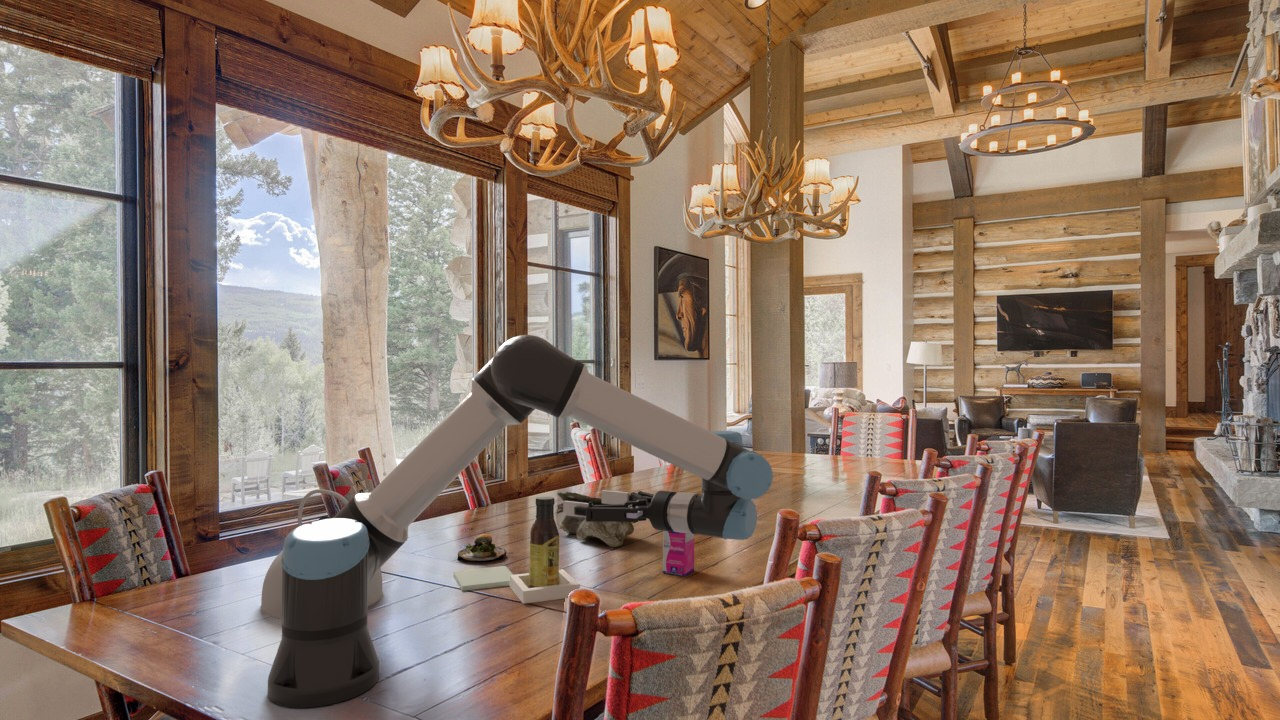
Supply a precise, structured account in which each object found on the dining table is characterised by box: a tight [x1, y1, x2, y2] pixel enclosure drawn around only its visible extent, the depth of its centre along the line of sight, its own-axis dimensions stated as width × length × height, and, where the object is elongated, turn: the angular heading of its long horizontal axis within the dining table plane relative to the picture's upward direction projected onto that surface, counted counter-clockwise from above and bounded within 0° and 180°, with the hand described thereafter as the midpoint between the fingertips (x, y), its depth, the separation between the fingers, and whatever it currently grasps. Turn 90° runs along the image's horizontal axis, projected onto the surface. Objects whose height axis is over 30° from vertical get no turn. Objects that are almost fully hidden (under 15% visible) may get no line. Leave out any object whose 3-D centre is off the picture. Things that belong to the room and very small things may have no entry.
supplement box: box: [662, 531, 695, 577], centre depth 163 cm, size 6×6×12 cm
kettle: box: [260, 488, 384, 620], centre depth 142 cm, size 25×23×22 cm
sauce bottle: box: [528, 496, 560, 588], centre depth 148 cm, size 7×6×20 cm
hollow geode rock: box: [555, 491, 640, 548], centre depth 195 cm, size 28×13×15 cm
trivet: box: [452, 565, 514, 592], centre depth 156 cm, size 12×12×1 cm
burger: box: [456, 527, 507, 562], centre depth 175 cm, size 12×12×8 cm
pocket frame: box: [509, 568, 581, 605], centre depth 148 cm, size 12×12×2 cm
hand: (584, 501), depth 144 cm, fingers open, 13 cm apart
